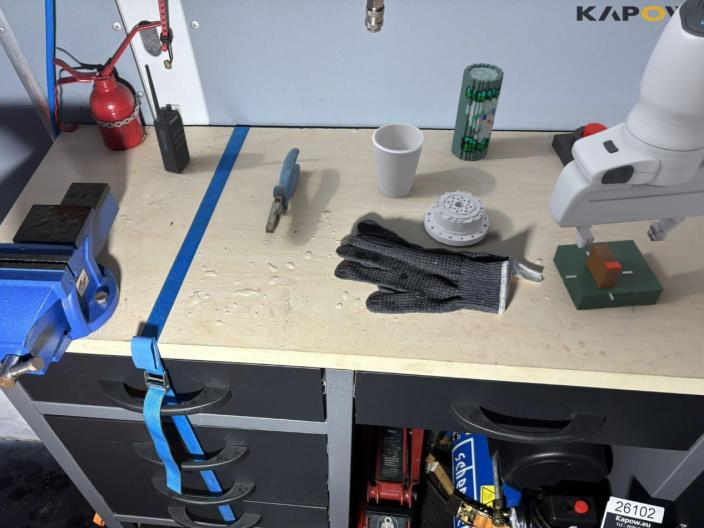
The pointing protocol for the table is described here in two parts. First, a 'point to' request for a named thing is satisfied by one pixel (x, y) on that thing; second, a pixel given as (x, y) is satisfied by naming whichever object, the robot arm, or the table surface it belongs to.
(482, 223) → the mechanical component
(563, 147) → the switch block
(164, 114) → the walkie-talkie
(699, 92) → the robot arm
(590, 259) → the handle
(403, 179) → the dixie cup
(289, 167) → the pliers
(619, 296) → the panel
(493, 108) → the can
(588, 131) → the button
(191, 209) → the table surface
